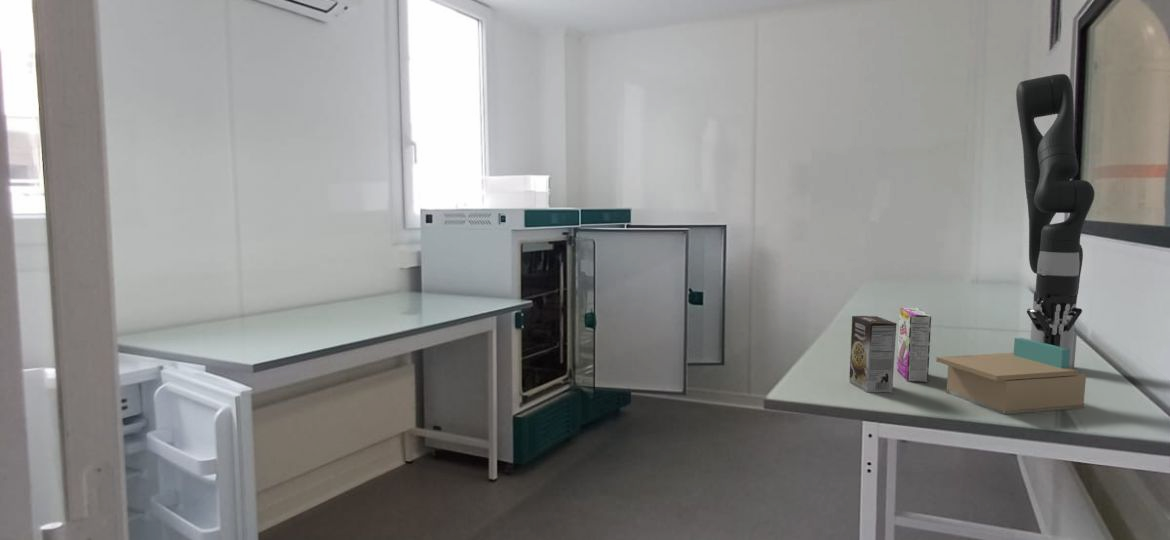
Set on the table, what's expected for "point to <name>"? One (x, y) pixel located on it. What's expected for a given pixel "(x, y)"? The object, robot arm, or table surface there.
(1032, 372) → the lid
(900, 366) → the candy bar box
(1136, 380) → the table surface
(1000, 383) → the mailer box
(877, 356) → the brown upright rectangular box
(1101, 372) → the table surface
